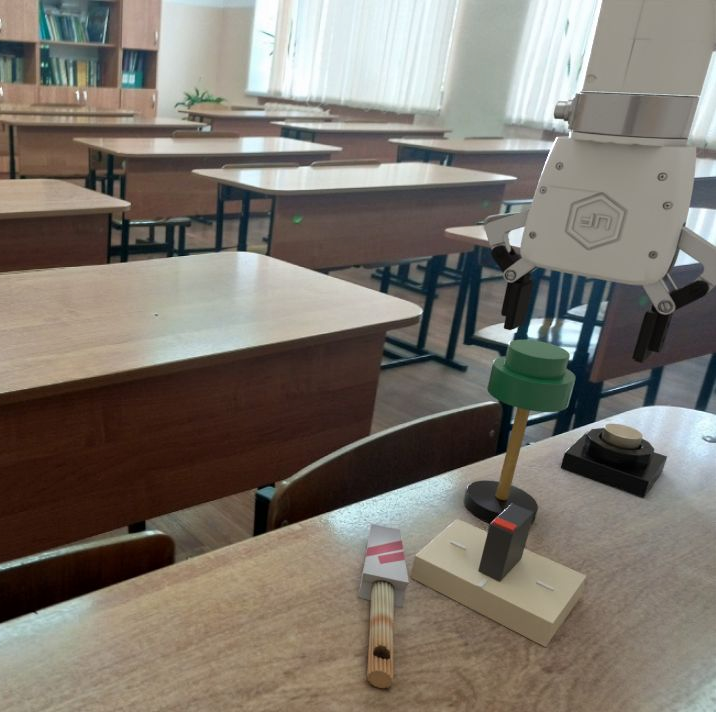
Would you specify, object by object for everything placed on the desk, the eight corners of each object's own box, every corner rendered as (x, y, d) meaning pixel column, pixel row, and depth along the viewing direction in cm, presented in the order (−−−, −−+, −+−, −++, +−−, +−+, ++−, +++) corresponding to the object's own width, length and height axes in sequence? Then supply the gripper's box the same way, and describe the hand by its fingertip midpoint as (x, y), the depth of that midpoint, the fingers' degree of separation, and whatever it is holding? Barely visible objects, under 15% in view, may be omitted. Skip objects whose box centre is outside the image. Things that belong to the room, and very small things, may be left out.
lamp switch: (662, 472, 90) (671, 443, 88) (643, 498, 83) (653, 467, 82) (583, 445, 95) (590, 417, 94) (560, 467, 89) (568, 438, 88)
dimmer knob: (499, 548, 68) (512, 500, 66) (521, 558, 67) (534, 509, 65) (477, 571, 65) (490, 521, 63) (500, 582, 64) (513, 531, 62)
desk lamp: (547, 511, 80) (591, 351, 73) (521, 538, 75) (566, 369, 68) (478, 483, 85) (514, 331, 78) (449, 507, 80) (485, 346, 73)
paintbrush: (408, 518, 71) (408, 672, 54) (404, 541, 72) (401, 699, 55) (368, 510, 72) (354, 658, 55) (364, 532, 73) (349, 685, 56)
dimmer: (580, 598, 66) (587, 573, 65) (545, 648, 60) (552, 622, 59) (452, 539, 74) (457, 516, 73) (409, 578, 68) (414, 554, 67)
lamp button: (642, 444, 88) (646, 431, 88) (633, 455, 85) (637, 441, 85) (605, 433, 91) (609, 420, 90) (596, 442, 88) (600, 429, 87)
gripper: (491, 114, 56) (451, 324, 62) (771, 132, 45) (689, 385, 51) (526, 113, 61) (486, 308, 68) (786, 129, 50) (709, 360, 56)
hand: (574, 341), depth 59 cm, fingers open, 9 cm apart
